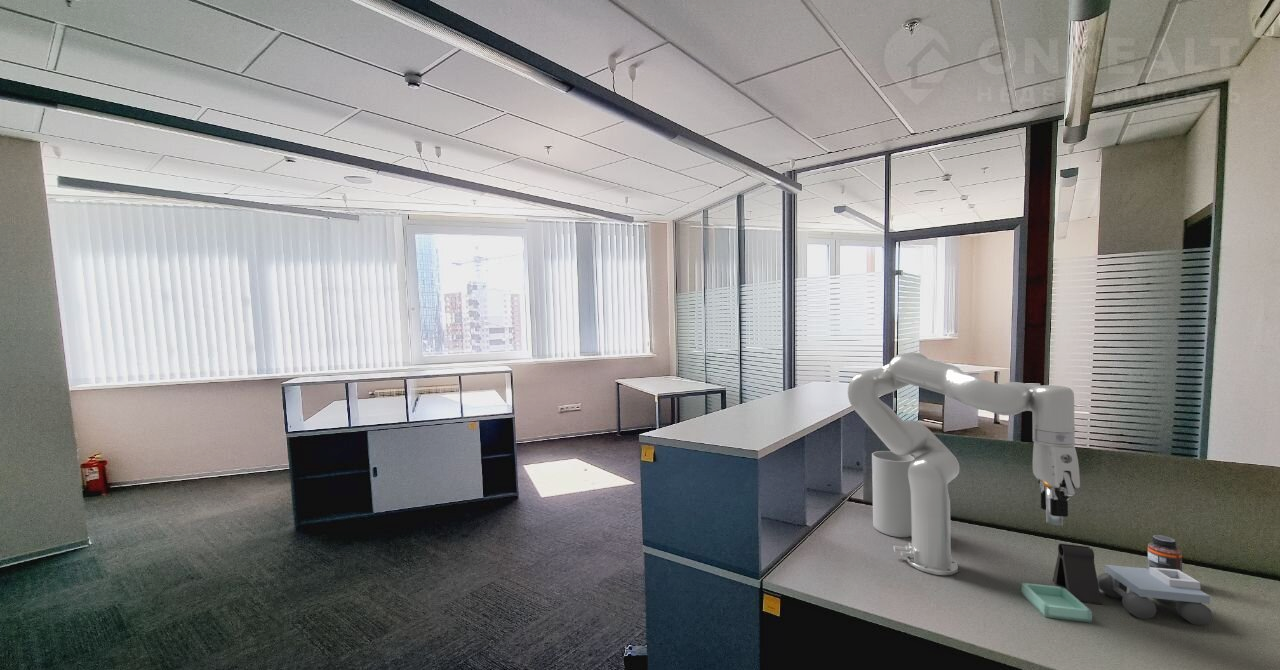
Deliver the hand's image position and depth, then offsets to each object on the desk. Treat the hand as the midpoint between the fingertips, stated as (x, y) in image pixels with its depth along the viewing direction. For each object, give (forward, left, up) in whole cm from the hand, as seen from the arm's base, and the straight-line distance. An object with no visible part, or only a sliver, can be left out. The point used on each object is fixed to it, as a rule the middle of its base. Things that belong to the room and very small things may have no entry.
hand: (1054, 512), depth 109 cm
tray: (0, 0, -23) cm, 23 cm away
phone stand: (+9, +8, -24) cm, 26 cm away
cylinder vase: (-26, +38, -23) cm, 51 cm away
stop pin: (0, 0, -3) cm, 3 cm away
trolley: (+21, +5, -23) cm, 32 cm away
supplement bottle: (+34, +20, -24) cm, 46 cm away
